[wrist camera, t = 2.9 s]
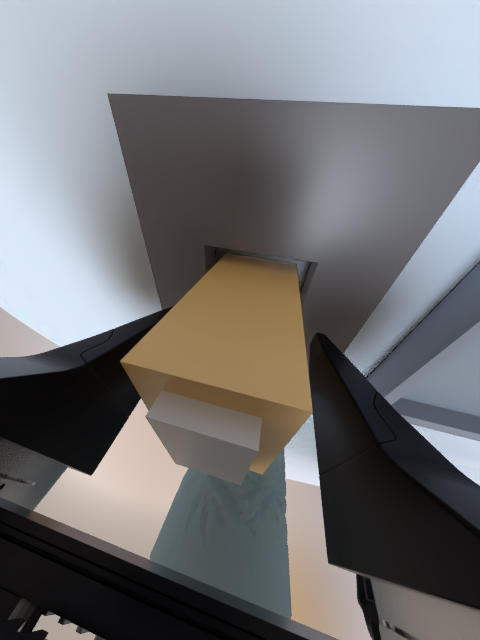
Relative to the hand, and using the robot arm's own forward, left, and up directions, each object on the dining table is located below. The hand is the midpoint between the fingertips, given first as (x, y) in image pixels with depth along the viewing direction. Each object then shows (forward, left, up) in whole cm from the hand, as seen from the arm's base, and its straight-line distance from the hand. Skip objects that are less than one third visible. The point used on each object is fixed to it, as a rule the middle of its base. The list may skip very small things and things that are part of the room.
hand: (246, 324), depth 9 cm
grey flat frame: (0, 0, -2) cm, 2 cm away
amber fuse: (0, 0, -3) cm, 3 cm away
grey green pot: (-16, -1, -3) cm, 16 cm away
